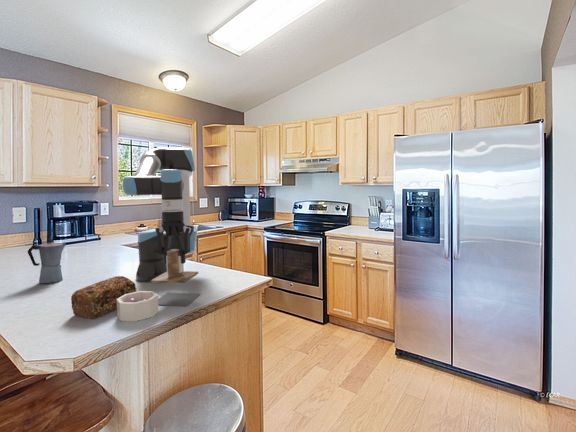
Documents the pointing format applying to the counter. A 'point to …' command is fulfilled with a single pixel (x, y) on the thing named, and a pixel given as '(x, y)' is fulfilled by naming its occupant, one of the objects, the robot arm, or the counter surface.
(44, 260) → the moka pot
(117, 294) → the bread
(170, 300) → the mat
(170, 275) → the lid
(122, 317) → the bowl
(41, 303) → the counter surface
